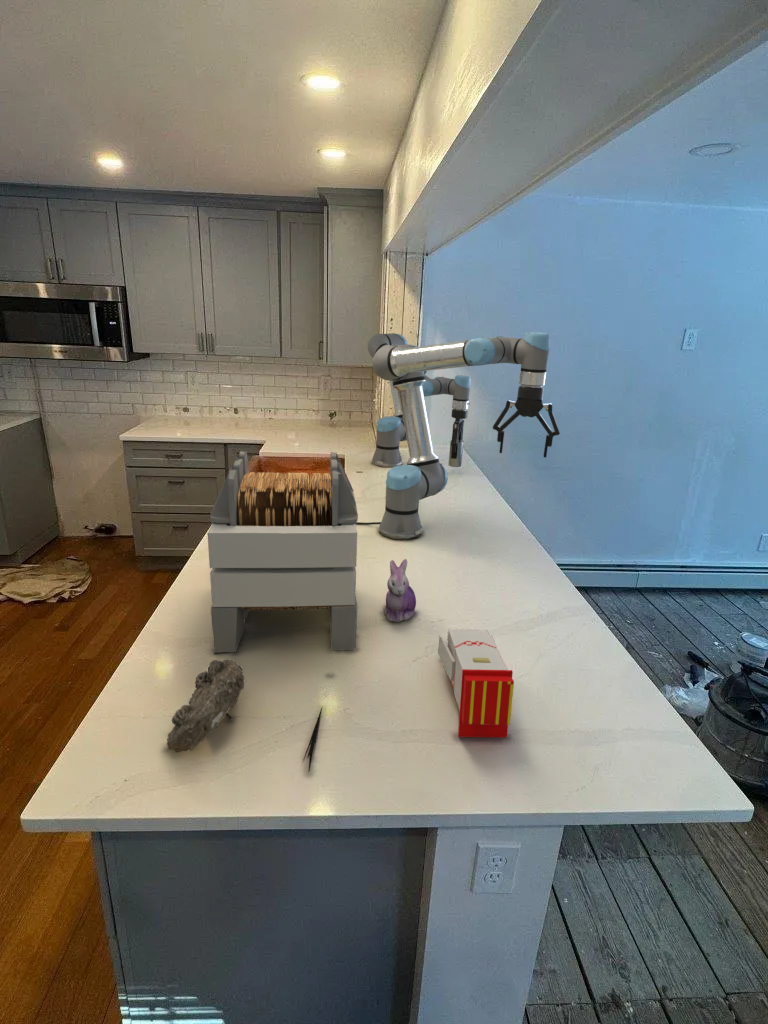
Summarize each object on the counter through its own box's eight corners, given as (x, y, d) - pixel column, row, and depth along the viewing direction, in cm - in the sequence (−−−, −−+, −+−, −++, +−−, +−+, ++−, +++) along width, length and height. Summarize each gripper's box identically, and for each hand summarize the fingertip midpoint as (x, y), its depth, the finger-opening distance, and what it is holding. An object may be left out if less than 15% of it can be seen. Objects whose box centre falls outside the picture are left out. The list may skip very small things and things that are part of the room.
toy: (488, 613, 130) (523, 677, 101) (484, 667, 133) (517, 744, 104) (435, 612, 130) (455, 676, 101) (432, 666, 133) (451, 743, 103)
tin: (454, 467, 272) (456, 443, 268) (445, 464, 277) (447, 440, 273) (463, 466, 276) (466, 441, 272) (455, 463, 281) (457, 439, 276)
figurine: (392, 627, 141) (395, 572, 136) (374, 608, 149) (376, 556, 144) (425, 619, 145) (429, 566, 140) (405, 601, 154) (408, 550, 149)
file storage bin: (232, 584, 158) (225, 442, 144) (349, 583, 162) (353, 444, 148) (211, 655, 127) (198, 480, 113) (357, 651, 130) (362, 482, 117)
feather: (331, 679, 122) (336, 673, 122) (307, 777, 96) (313, 769, 95) (324, 675, 122) (329, 669, 121) (298, 772, 95) (304, 764, 95)
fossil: (192, 660, 117) (244, 628, 112) (224, 691, 120) (276, 661, 115) (142, 746, 98) (202, 712, 93) (182, 779, 101) (242, 748, 96)
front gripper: (573, 387, 172) (563, 455, 179) (490, 381, 178) (483, 447, 185) (575, 390, 165) (564, 461, 173) (488, 384, 171) (481, 453, 178)
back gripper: (463, 413, 257) (458, 462, 265) (472, 407, 274) (467, 453, 282) (447, 411, 260) (443, 460, 268) (456, 405, 277) (452, 451, 285)
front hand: (522, 454), depth 179 cm, fingers open, 13 cm apart
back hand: (455, 456), depth 275 cm, fingers closed on tin, 6 cm apart
